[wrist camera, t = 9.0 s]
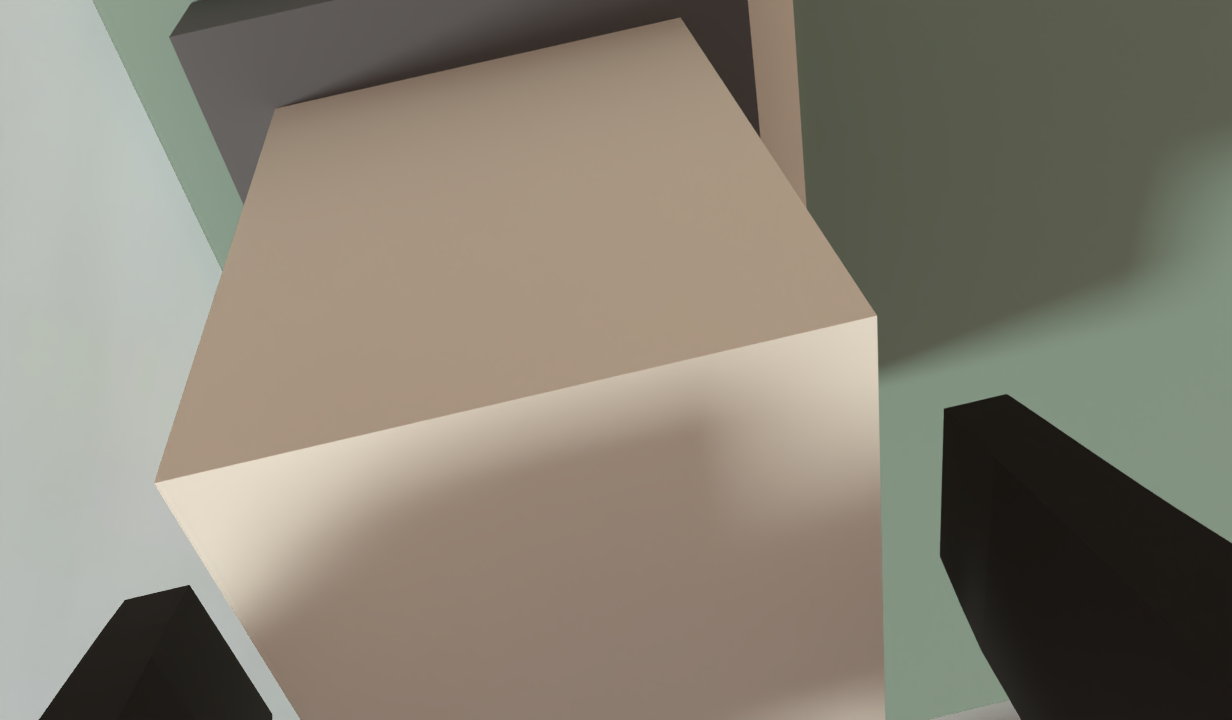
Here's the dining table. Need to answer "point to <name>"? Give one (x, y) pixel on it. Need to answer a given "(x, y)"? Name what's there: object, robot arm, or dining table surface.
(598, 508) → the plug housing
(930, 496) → the header board
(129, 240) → the dining table surface
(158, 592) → the robot arm
